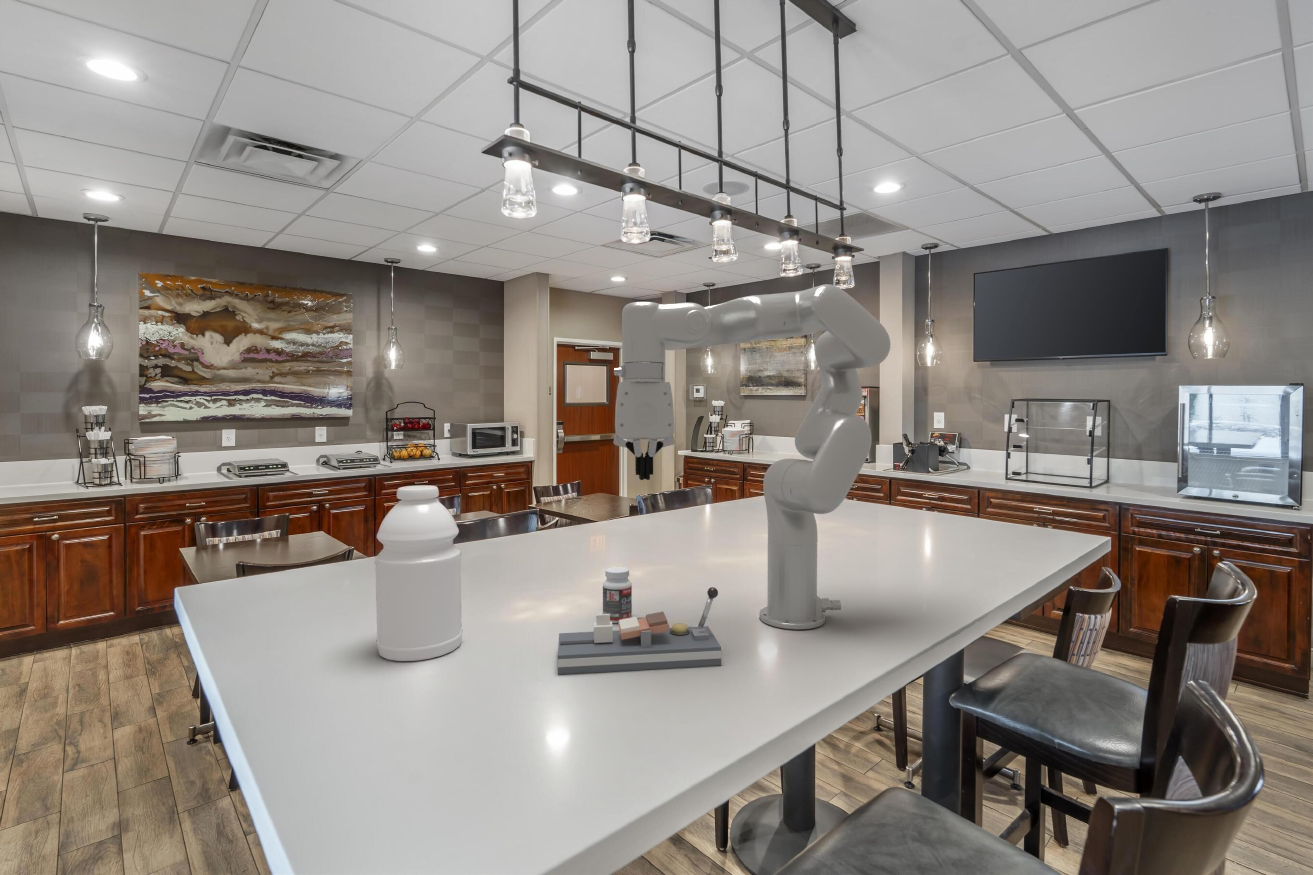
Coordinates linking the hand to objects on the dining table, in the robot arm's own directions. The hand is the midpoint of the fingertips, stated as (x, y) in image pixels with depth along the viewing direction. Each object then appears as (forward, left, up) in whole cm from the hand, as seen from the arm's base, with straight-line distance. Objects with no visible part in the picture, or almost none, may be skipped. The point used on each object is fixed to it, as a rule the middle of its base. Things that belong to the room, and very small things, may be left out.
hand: (644, 478), depth 110 cm
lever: (-8, +7, -25) cm, 27 cm away
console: (+2, +7, -29) cm, 30 cm away
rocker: (+1, +7, -24) cm, 25 cm away
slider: (+8, +7, -26) cm, 28 cm away
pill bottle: (+4, -13, -29) cm, 32 cm away
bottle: (+39, -3, -29) cm, 49 cm away
